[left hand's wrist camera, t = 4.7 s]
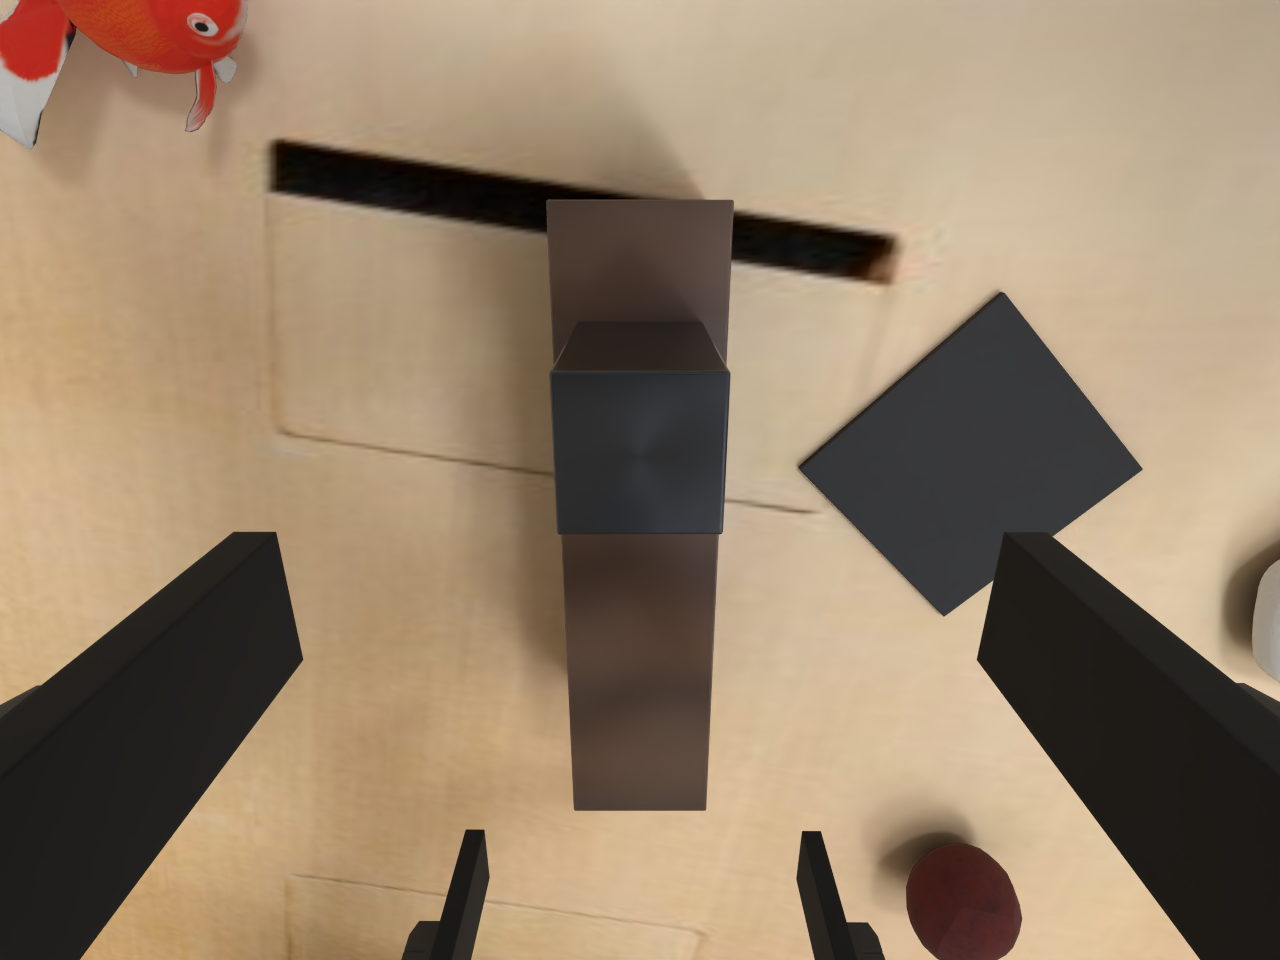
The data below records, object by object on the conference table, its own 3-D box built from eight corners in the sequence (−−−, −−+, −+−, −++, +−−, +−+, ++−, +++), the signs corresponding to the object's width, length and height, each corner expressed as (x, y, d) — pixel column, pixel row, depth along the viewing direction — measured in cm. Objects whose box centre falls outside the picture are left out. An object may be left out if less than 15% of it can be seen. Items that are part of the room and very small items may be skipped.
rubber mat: (1000, 291, 37) (1004, 292, 36) (1138, 467, 40) (1143, 469, 40) (798, 467, 40) (799, 469, 40) (941, 613, 44) (944, 617, 44)
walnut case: (570, 202, 35) (545, 199, 26) (709, 202, 35) (734, 199, 26) (587, 689, 46) (573, 811, 37) (692, 689, 46) (706, 811, 37)
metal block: (576, 321, 27) (548, 371, 19) (703, 321, 27) (731, 371, 19) (580, 441, 29) (556, 535, 21) (699, 442, 29) (723, 535, 21)
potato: (878, 889, 53) (912, 986, 46) (912, 813, 50) (954, 905, 43) (970, 902, 53) (1016, 1000, 47) (1009, 828, 50) (1064, 921, 44)
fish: (268, 242, 31) (7, 110, 22) (56, 174, 36) (-230, 43, 27) (348, 14, 31) (120, -219, 22) (124, -22, 36) (-141, -223, 27)
